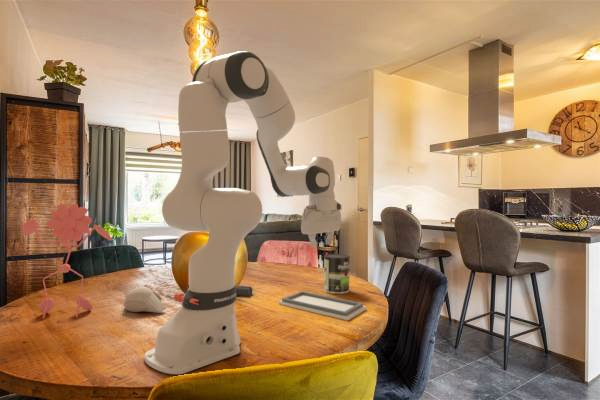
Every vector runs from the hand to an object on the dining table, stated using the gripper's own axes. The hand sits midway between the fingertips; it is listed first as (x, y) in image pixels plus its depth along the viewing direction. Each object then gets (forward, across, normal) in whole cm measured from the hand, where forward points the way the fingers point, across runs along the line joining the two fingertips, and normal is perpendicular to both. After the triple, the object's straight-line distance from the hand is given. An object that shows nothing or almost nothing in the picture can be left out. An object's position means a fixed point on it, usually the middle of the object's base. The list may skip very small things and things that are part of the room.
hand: (321, 245), depth 114 cm
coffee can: (+21, +21, +6) cm, 30 cm away
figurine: (+21, -53, +62) cm, 84 cm away
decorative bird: (+23, -36, +39) cm, 58 cm away
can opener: (+18, -6, +38) cm, 43 cm away
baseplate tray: (+21, 0, 0) cm, 21 cm away
